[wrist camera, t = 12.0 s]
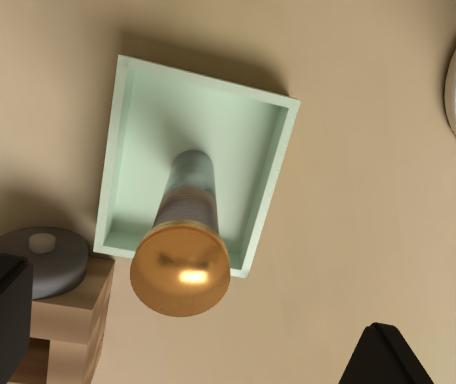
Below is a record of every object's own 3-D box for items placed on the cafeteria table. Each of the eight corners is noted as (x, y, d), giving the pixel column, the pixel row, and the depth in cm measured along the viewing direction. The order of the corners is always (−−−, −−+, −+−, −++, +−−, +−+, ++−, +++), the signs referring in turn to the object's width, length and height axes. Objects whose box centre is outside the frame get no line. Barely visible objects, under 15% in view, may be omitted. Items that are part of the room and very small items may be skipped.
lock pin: (173, 140, 24) (138, 222, 12) (223, 151, 25) (241, 242, 12) (164, 187, 26) (123, 308, 13) (211, 197, 26) (217, 323, 13)
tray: (129, 55, 23) (118, 54, 20) (289, 96, 24) (300, 100, 22) (104, 232, 27) (93, 251, 24) (243, 257, 29) (247, 278, 26)
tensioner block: (-3, 209, 26) (-61, 249, 20) (119, 231, 27) (97, 275, 22) (-6, 341, 30) (-55, 405, 24) (100, 355, 31) (77, 419, 26)
